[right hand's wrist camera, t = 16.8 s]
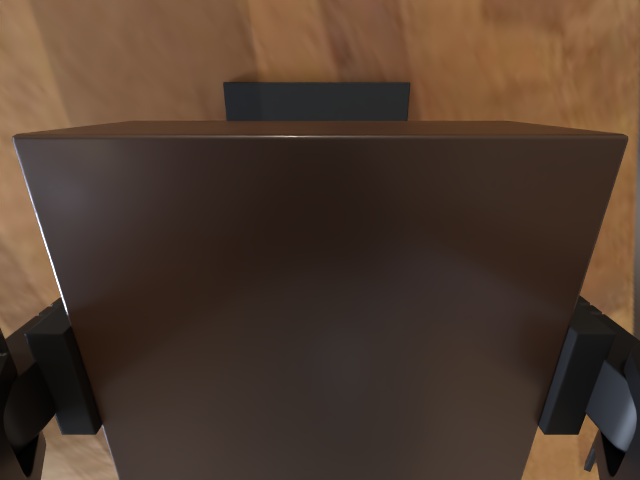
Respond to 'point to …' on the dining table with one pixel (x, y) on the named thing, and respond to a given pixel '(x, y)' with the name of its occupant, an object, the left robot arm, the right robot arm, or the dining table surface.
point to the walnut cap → (320, 288)
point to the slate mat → (316, 101)
